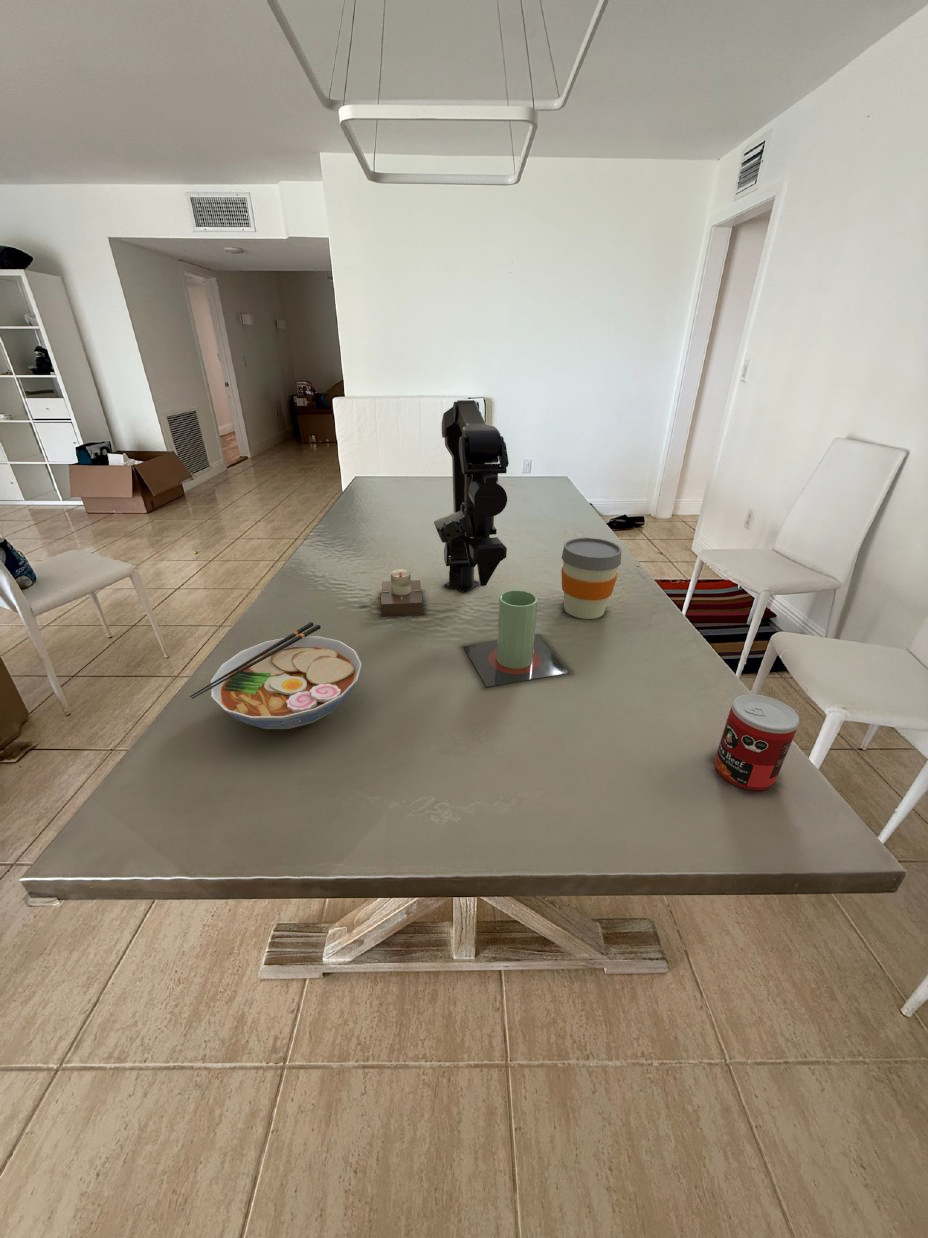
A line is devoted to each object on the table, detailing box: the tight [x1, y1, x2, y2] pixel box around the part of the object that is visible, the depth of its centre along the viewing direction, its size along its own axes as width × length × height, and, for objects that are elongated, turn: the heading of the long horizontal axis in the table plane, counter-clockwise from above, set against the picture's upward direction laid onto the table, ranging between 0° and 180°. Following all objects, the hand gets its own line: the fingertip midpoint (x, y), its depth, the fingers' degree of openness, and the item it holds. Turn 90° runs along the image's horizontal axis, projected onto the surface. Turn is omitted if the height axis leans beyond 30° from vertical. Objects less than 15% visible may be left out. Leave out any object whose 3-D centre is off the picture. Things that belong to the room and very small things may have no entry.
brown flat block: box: [380, 579, 424, 617], centre depth 119 cm, size 12×9×3 cm
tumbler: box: [496, 589, 539, 669], centre depth 96 cm, size 7×7×13 cm
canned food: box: [714, 693, 800, 791], centre depth 72 cm, size 8×8×11 cm
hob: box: [463, 635, 570, 688], centre depth 99 cm, size 14×16×1 cm
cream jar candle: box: [390, 569, 412, 595], centre depth 117 cm, size 4×4×5 cm
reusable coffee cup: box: [560, 537, 622, 620], centre depth 115 cm, size 13×13×15 cm
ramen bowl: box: [189, 621, 363, 730], centre depth 84 cm, size 25×23×8 cm
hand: (477, 576), depth 105 cm, fingers open, 9 cm apart
